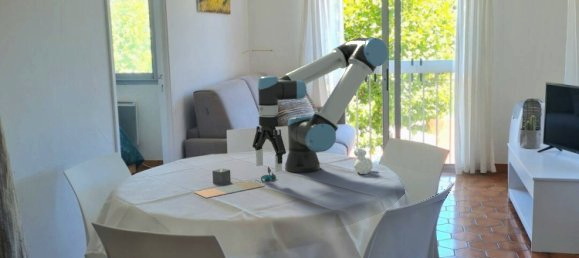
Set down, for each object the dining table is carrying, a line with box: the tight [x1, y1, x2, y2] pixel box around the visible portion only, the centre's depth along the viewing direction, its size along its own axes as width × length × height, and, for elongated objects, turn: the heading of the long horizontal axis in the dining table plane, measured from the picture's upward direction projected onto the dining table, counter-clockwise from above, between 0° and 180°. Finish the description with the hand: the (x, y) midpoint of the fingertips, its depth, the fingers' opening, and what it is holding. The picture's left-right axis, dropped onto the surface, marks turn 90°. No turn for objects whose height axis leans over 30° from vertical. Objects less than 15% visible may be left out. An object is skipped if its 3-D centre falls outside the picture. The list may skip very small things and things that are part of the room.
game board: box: [193, 180, 266, 199], centre depth 216 cm, size 26×10×1 cm, turn 126°
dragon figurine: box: [257, 165, 277, 184], centre depth 228 cm, size 7×7×8 cm
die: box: [212, 168, 232, 185], centre depth 227 cm, size 5×5×5 cm
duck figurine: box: [353, 147, 373, 175], centre depth 238 cm, size 12×8×11 cm
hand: (268, 168), depth 226 cm, fingers open, 13 cm apart
